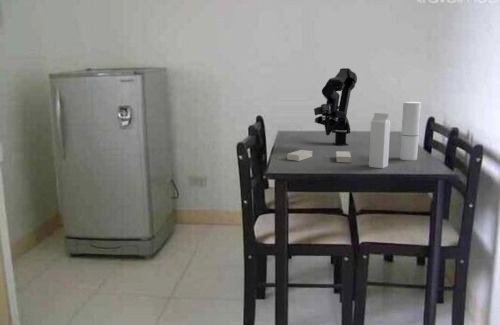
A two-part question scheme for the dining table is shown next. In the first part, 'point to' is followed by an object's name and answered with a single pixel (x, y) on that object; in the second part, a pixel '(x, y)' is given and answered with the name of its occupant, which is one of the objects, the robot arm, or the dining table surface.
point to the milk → (379, 141)
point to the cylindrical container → (410, 130)
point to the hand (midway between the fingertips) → (327, 135)
